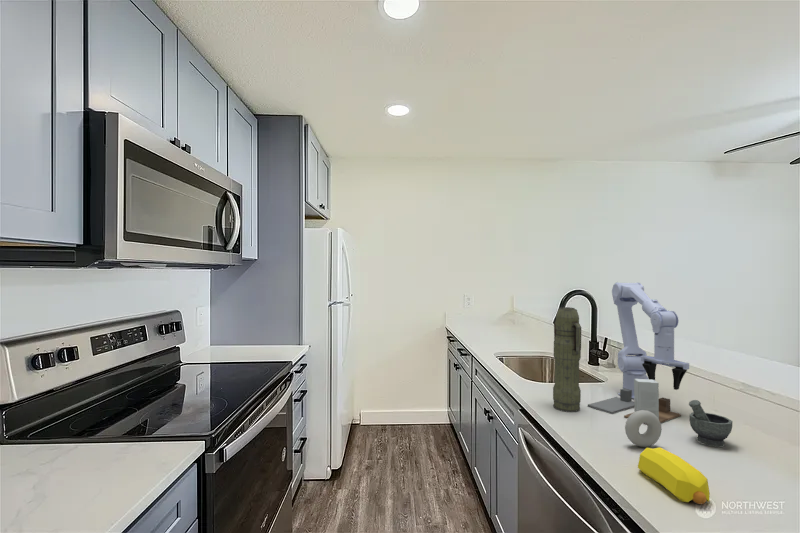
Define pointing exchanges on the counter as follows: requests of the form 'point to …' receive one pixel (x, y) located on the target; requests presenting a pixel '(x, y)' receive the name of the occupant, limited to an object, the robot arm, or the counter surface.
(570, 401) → the thermos
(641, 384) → the skincare box
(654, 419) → the donut
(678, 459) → the yellow banana
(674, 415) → the walnut strip
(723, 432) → the mortar and pestle
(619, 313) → the robot arm
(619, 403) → the charcoal strip
